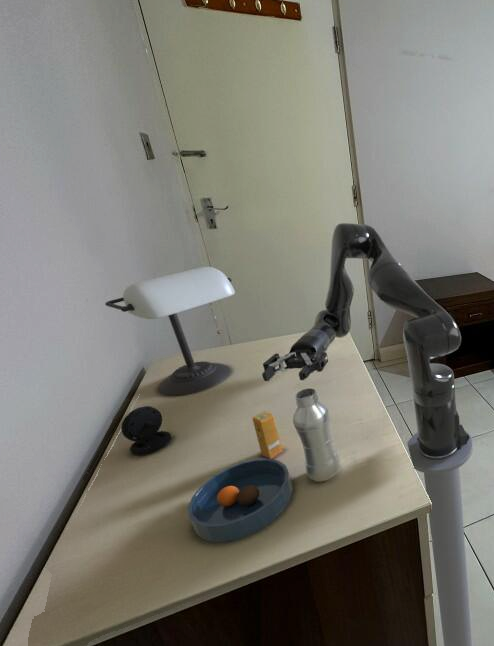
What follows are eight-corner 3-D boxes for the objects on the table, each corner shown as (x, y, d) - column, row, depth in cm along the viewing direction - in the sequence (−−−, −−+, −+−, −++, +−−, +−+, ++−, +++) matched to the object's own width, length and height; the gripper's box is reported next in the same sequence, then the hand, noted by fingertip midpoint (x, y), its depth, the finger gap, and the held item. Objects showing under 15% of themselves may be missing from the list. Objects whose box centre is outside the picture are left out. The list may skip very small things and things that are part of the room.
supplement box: (284, 450, 90) (274, 414, 86) (270, 460, 87) (259, 422, 83) (275, 445, 92) (264, 409, 88) (261, 455, 89) (249, 418, 85)
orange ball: (224, 499, 77) (232, 481, 78) (239, 507, 76) (247, 488, 77) (208, 503, 74) (217, 484, 74) (223, 511, 73) (232, 492, 73)
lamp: (177, 416, 103) (127, 293, 90) (128, 394, 113) (76, 280, 99) (269, 369, 125) (240, 264, 111) (221, 354, 135) (189, 256, 121)
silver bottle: (348, 465, 85) (331, 386, 77) (327, 489, 79) (306, 406, 72) (323, 459, 87) (305, 381, 79) (301, 482, 81) (278, 400, 73)
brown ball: (255, 482, 78) (234, 492, 76) (254, 480, 75) (233, 491, 73) (262, 499, 77) (241, 510, 75) (262, 498, 75) (240, 509, 72)
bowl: (295, 464, 86) (291, 450, 84) (288, 524, 72) (283, 508, 70) (208, 486, 81) (202, 471, 79) (182, 555, 67) (174, 539, 65)
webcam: (157, 432, 97) (142, 397, 93) (180, 436, 95) (166, 401, 91) (122, 453, 90) (104, 417, 86) (146, 459, 88) (129, 422, 84)
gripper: (282, 335, 108) (248, 364, 93) (334, 334, 108) (309, 362, 93) (288, 359, 111) (257, 392, 96) (339, 358, 111) (316, 390, 96)
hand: (283, 377), depth 94 cm, fingers open, 8 cm apart
